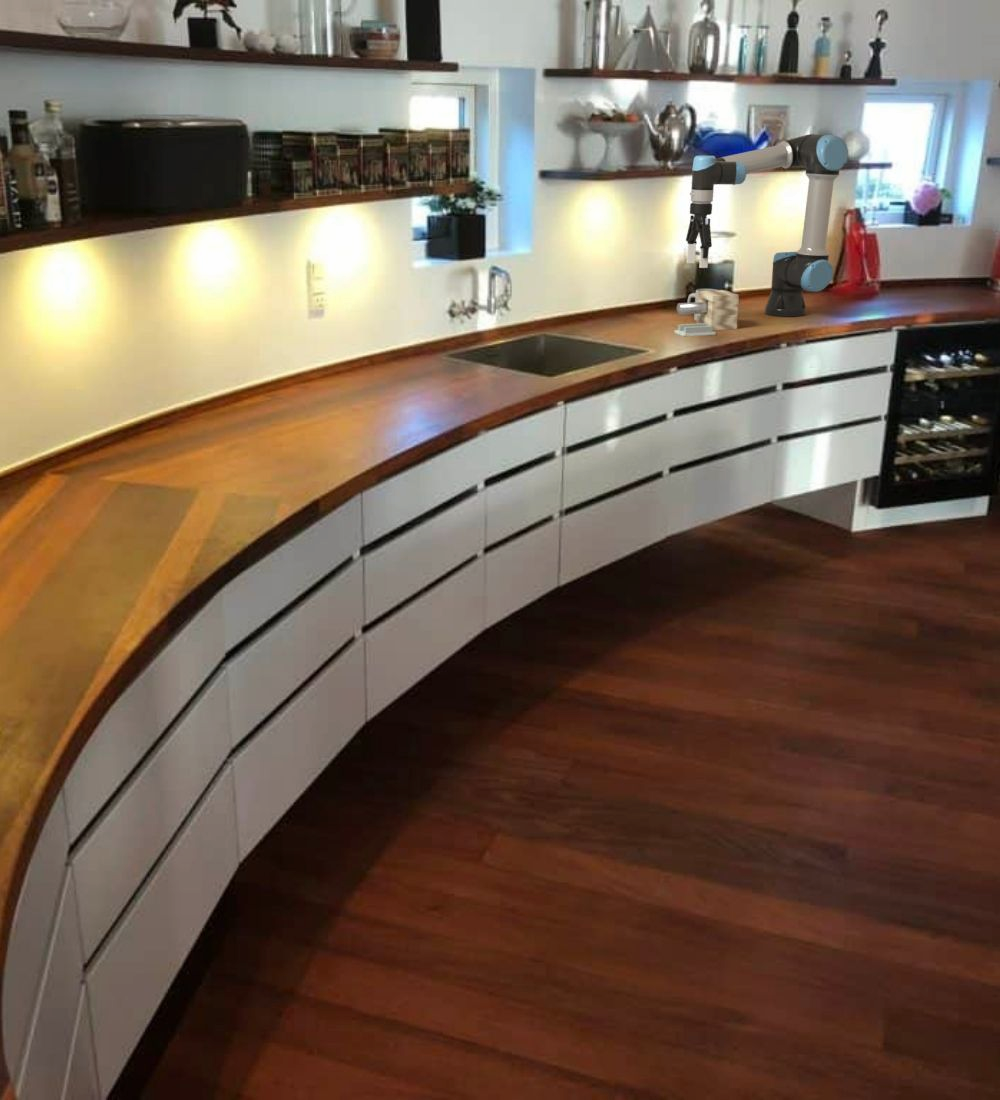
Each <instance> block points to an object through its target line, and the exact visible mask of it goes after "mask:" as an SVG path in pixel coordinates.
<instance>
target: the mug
mask: <svg viewBox="0 0 1000 1100" xmlns="http://www.w3.org/2000/svg"><path fill="white" fill-rule="evenodd" d="M713 290H717V289H716V288H715V289H714V288H697V289H696V290H695V292H692V293H690V294H688V298H687V302H686V303H692V302H691V301H692V298H694V302H698V291H713ZM693 320H694V322H697V314H693Z"/></svg>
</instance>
